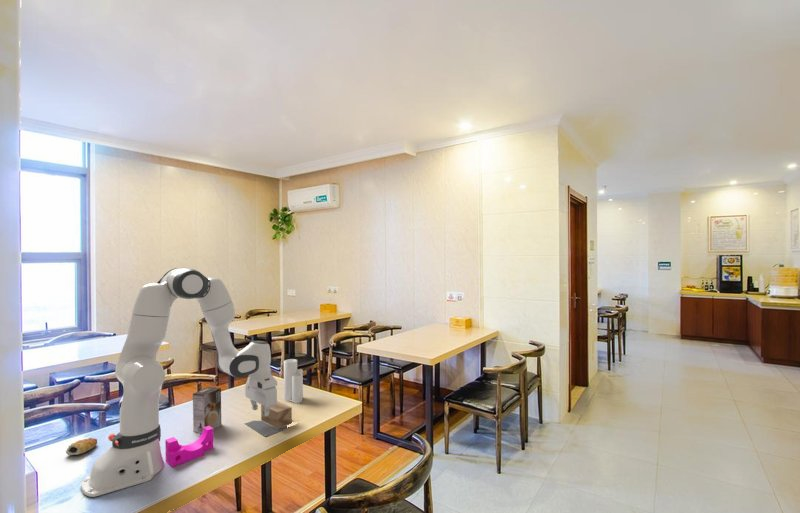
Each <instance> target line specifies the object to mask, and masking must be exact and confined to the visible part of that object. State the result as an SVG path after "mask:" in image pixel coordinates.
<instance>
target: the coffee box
mask: <svg viewBox="0 0 800 513" xmlns="http://www.w3.org/2000/svg"><path fill="white" fill-rule="evenodd" d="M221 389H222V387H214V386H208V387H206V388H203V389H201V390H199V391H196V392H194V393H192V420H193V422H192V423H193V424H192V425H193V426H192V427H193V428H192V430H193V433H199V434H202V432H203V429H204V427H207V426H210V427H212V428H213V430H214V429H216V428H218V427H219V426H221V425H222V390H221Z"/></svg>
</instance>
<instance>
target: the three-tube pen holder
mask: <svg viewBox="0 0 800 513" xmlns="http://www.w3.org/2000/svg"><path fill="white" fill-rule="evenodd" d="M303 375H304V374H303V368H299V369H298V359H295V358H289V359H285V360H283V400H284V401H285V400H286V401H285V402H291V403H292V402H294V403H293V404H295V403H298V404H300V403H299V402H301V403H303V399H302V398H304V391H303V390H304V387H303V386H304V385H303V384H304V382H303V379H304V378H303ZM290 400H292V401H290Z"/></svg>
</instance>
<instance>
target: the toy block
mask: <svg viewBox="0 0 800 513" xmlns="http://www.w3.org/2000/svg"><path fill="white" fill-rule="evenodd" d="M200 434H201V435H200V436H199V437H198V438H197V439H195V441H193V442H191V443H190V444H185V445H183V444H180V443H179V441H178V439H177V438H176V437H174V436H172V437H169V438H167V439H165V442H164V443H165V444H164V445H165V462H166V463H167V464H168V465H169V466H170V467H171V468H173V467H176V466H178V465H181V464H183V463H186V462H189V461H192V460H194V459H197V458H200V457H202V456H204V453H205V452H206V451H209V450H212V449H214V429H213V428H212V427H210V426H207V427H204V429H203V432H202V433H200Z"/></svg>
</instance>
